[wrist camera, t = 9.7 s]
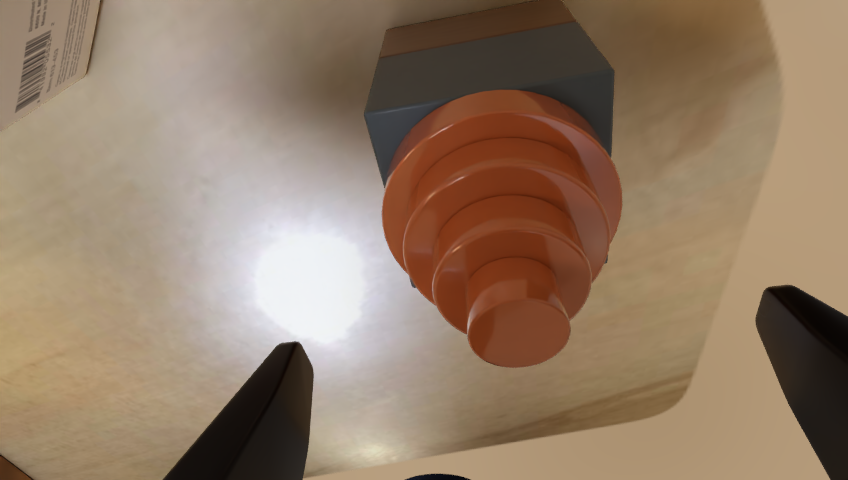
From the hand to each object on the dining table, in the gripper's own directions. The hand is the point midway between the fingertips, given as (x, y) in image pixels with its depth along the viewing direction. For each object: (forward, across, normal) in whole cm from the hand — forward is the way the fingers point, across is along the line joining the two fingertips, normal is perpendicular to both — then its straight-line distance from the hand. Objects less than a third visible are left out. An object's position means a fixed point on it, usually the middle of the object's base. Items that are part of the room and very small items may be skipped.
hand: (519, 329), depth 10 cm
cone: (+5, 0, 0) cm, 5 cm away
